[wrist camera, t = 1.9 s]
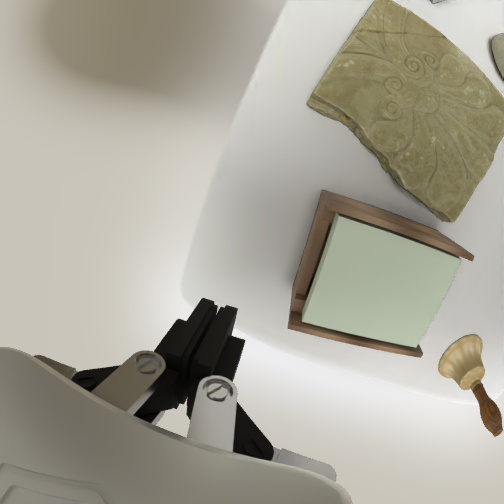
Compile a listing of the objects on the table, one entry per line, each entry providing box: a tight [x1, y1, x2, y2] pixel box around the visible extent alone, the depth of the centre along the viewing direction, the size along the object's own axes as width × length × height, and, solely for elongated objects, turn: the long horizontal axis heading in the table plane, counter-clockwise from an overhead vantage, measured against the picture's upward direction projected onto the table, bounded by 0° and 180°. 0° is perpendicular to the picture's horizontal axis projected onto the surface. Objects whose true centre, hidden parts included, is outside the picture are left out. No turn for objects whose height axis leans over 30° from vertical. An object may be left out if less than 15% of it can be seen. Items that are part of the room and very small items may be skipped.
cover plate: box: [302, 212, 461, 348], centre depth 21 cm, size 12×9×2 cm
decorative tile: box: [307, 0, 504, 223], centre depth 20 cm, size 19×20×4 cm
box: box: [288, 190, 474, 358], centre depth 24 cm, size 14×11×8 cm
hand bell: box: [438, 335, 503, 437], centre depth 22 cm, size 8×8×16 cm
